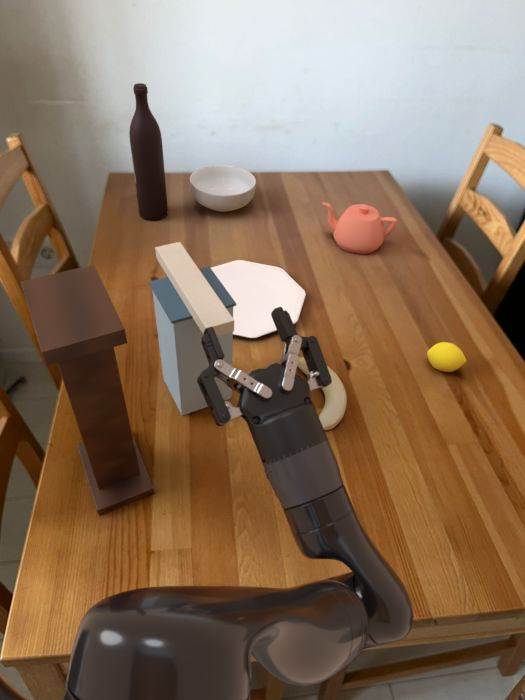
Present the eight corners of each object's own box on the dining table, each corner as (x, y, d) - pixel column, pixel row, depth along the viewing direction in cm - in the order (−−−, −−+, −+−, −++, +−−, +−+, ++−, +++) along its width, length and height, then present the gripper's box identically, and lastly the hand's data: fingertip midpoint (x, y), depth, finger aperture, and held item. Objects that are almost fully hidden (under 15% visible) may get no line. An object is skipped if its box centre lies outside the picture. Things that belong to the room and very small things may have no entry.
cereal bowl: (261, 218, 129) (262, 192, 124) (195, 223, 126) (194, 197, 121) (247, 186, 141) (248, 162, 136) (186, 190, 138) (185, 165, 133)
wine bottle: (161, 204, 132) (148, 78, 111) (172, 217, 128) (162, 88, 107) (135, 210, 129) (117, 82, 108) (146, 223, 125) (130, 93, 104)
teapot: (389, 261, 119) (399, 225, 112) (313, 248, 121) (318, 212, 114) (391, 234, 127) (401, 199, 121) (320, 222, 129) (325, 187, 123)
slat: (206, 340, 67) (206, 328, 65) (156, 258, 79) (154, 247, 78) (234, 331, 68) (234, 320, 67) (180, 252, 80) (179, 241, 79)
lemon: (421, 372, 94) (430, 351, 90) (423, 353, 98) (431, 332, 94) (461, 382, 93) (471, 361, 89) (461, 361, 96) (471, 341, 93)
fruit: (331, 363, 94) (334, 350, 92) (354, 429, 84) (357, 416, 81) (293, 366, 93) (295, 353, 91) (311, 433, 83) (313, 420, 80)
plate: (220, 355, 94) (220, 350, 93) (169, 285, 108) (168, 279, 107) (325, 317, 103) (326, 311, 102) (265, 256, 117) (265, 251, 116)
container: (180, 417, 84) (171, 321, 69) (161, 378, 89) (148, 281, 75) (234, 398, 87) (236, 303, 72) (211, 361, 93) (209, 266, 78)
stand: (99, 515, 71) (41, 352, 48) (78, 449, 78) (20, 281, 56) (154, 493, 74) (124, 329, 51) (130, 431, 81) (94, 264, 59)
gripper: (367, 427, 54) (308, 290, 57) (246, 478, 49) (188, 324, 52) (337, 437, 61) (286, 314, 64) (228, 482, 56) (178, 346, 59)
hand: (242, 319), depth 58 cm, fingers open, 8 cm apart
